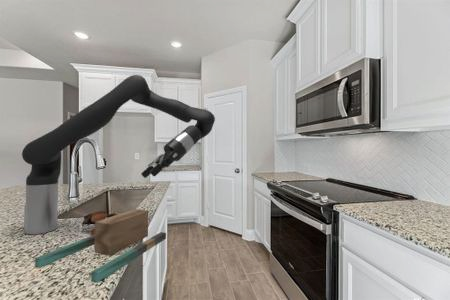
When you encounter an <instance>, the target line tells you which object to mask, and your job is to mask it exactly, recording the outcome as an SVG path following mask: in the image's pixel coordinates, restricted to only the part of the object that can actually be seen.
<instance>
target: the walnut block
mask: <svg viewBox="0 0 450 300" xmlns="http://www.w3.org/2000/svg"><path fill="white" fill-rule="evenodd" d="M94 228H95V244H94V253H96V254H100V255H105V256H110V257H111V256H113V255H115V254H116V253H118V252H121V251H122V250H124V249H126V248H128V247H130V246H132V245H134V244H136V243H137V242H139V241H142V240H143V239H146V238H148V236H149V210H143V209H136V208H135V209H134V208H133V209H132V210H128V211H125V212H122V213H119V214H117V215H115V216H112V217H109V218H107V217H106V219H103V220H99V221H96V222H95V225H94Z"/></svg>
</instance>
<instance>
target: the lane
mask: <svg viewBox="0 0 450 300" xmlns="http://www.w3.org/2000/svg"><path fill="white" fill-rule="evenodd" d="M166 239H167V232H163V231H160V232H159V233H157V234H156V235H154V236H152V237H150V238H149V239H146V240H145V241H143V242H141V243H139V244H138V245H136V246H134V247H132V248H131V249H129V250H127V251H126V252H124V253H122V254H120V255H118V256H117V257H115V258H113V259H111V260H109V261H107V262H106V263H104V264H103V265H100V266H98V267H97V268H95V269H93V270H92V271H90V272H91V273H90V274H91V275H90V278H91V279H90V281H93V282H96V283H100V281H102V280H104V279H105V278H106V277H109V275H112V274H113V273H114V272H116V271H117V270H120V268H122V267H124V266H125V265H127V264H129V263H130V262H132V261H134V260H135V259H137V258H138V257H140V256H142V255H143V254H145V253H146V252H148V251H149V250H150V249H152V248H154V247H155V246H157V245H158V244H160V243H161V242H163V241H165V240H166ZM92 245H95V235H91V236H88V237H85V238H82V239H80V240H77V241H75V242H73V243H70V244H67V245H65V246H63V247H60V248H57V249H55V250H53V251H50V252H47V253H45V254H42V255H39V256H37V257H35V258H34V267H38V268H42V267H45V266H47V265H50V264H51V263H54V262H57V261H58V260H61V259H63V258H65V257H67V256H69V255H72V254H74V253H76V252H79V251H81V250H83V249H85V248H87V247H89V246H92Z"/></svg>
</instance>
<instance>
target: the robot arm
mask: <svg viewBox="0 0 450 300" xmlns="http://www.w3.org/2000/svg"><path fill="white" fill-rule="evenodd" d="M129 101H132V102H134V103H136V104H139V105H142V106H146V107H149V108H153V109H155V110H157V111H160V112H163V113H164V114H167V115H169V116H172V117H173V118H175V119H177V120H180V121H182V122H183V123H187V124H188V123H190V122H191V121H196V123H195V124H194V125H193V124H191V125H188V126H187V127H186V128H184V129H183V130H182V131H181V132H180V133H178V134H176V135H175V136H173V138H172V139H171V140H170V141H168V142H167V143H166V144H165V145H164V146H163V152H164V153H161V154H159V155H158V156H157V157H156V158H155V159H153V161H152V162H150V163H149V164H147V167H146V168H145V169H144V170H143V171H142V172H141V173H140V174H141V176H142V177H143V178H144V179H146V178H148V177H149V176H150V175H152V177H156V176H157V175H159V174H160V173H161V172H162V171H163V170H165V169H166V168H169V167H170V166H171V165H172V164H173V163H174V162H179V161H180V160H181V159H183V157H185V155H186V154H187V153H188V152H189V151H190V150H191V149H192V148H193V146H195V145H197V143H198V141H200V140H202V139H203V138H205V137H206V136H208V135H209V134H210V133H211V131H212V130H213V127H214V124H215V120H216V116H215V115H214V114H213V113H212V111H209V110H208V109H204V108H199V107H193V106H190V105H189V104H186V103H184V102H183V101H181V100H177V99H173V98H168V97H164V96H161V95H159V94H157V93H155V92H154V91H153V90H152V89H150V87H149V85H148V83H147V80H146V78H145V77H143V76H142V75H139V74H133V75H130V76H128V77H126V78H125V79H123V80H122V81H121V82H120V83H118V85H116V86H115V87H114V88H113V89H111V90H110V91H109V92H107V93H106V94H104V95H103V96H101V97H100V98H99V99H97V100H96V101H94V102H93V103H91V104H89V105H88V106H87V107H85V108H84V107H83V109H81V110H80V111H79V112H76V114H74V115H72V117H70V118H68V119H67V120H66V121H64V122H63V123H62V124H60V125H58V126H57V127H56V128H54V129H53V130H51V131H49V132H48V133H45V134H44V135H41V136H40V137H38V138H36V139H33V140H32V141H30V142H28V143H27V144H25V146H24V148H23V150H22V152H21V157H22V160H23V161H24V162H25V163H26V164H28V165H31V170H30V172H29V174H28V175H27V177H26V179H25V205H24V209H23V210H24V212H23V213H24V215H23V216H24V217H23V232H24V234H27V235H38V234H39V235H40V234H45V233H49V232H52V231H54V230H57V229H58V204H59V203H58V202H59V200H58V199H59V198H58V197H59V178H60V175H61V169H62V151H64V150H65V148H68V146H70V145H72V144H74V143H76V142H78V141H81V140H83V139H85V138H87V137H89V136H92V135H93V134H95V133H97V132H98V131H99V130H102V129H103V128H104V127H105V126H107V124H109V123H110V122H111V121H112V119H113V117H115V115H116V113H117V112H118V111H119V110H120V108H121V107H122V106H123V105H125V104H126V103H128V102H129Z"/></svg>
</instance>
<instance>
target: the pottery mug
mask: <svg viewBox="0 0 450 300" xmlns="http://www.w3.org/2000/svg"><path fill="white" fill-rule="evenodd" d="M115 215H118V214H117V213H114V212H111V213H108V214H107V212H106V211H104V210H100V211H95V212H92V213H88V214H86V215H85V216H83V220H82V224H81V226H84V225H85V226H87V225H88V226H90V225H94V226H95V222H96V221H99V220H103V219H106V218H109V217H112V216H115ZM89 232H90V234H91V236H92V235H95V227H93V228H90V230H89Z"/></svg>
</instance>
